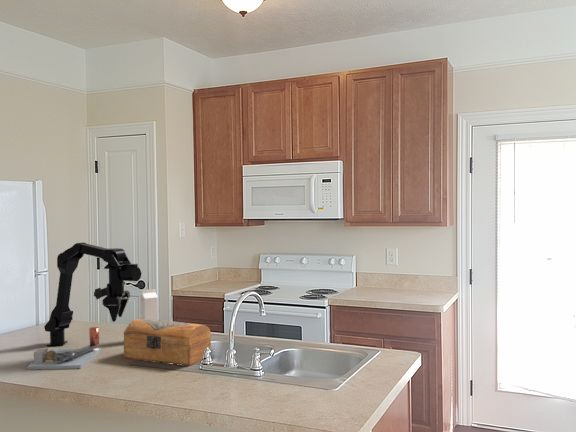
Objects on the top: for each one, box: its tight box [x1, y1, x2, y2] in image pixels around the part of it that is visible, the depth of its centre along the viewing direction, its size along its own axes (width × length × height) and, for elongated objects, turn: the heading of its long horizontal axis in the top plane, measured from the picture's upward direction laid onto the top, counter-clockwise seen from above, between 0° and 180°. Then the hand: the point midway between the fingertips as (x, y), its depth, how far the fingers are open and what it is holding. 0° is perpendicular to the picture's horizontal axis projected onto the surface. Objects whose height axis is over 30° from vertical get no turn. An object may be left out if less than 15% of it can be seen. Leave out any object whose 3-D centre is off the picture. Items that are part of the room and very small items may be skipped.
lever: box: [54, 326, 100, 361], centre depth 213 cm, size 5×22×8 cm, turn 163°
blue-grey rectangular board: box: [26, 347, 101, 371], centre depth 212 cm, size 24×19×5 cm
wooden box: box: [123, 318, 212, 367], centre depth 214 cm, size 30×16×14 cm, turn 65°
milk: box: [139, 288, 159, 320], centre depth 242 cm, size 6×6×22 cm
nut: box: [46, 349, 56, 360], centre depth 207 cm, size 4×4×4 cm
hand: (117, 319), depth 224 cm, fingers open, 9 cm apart
